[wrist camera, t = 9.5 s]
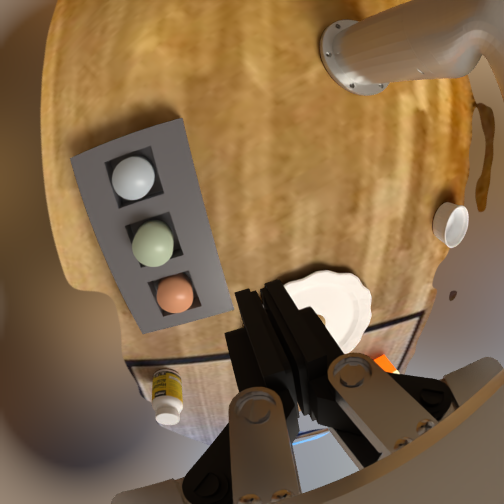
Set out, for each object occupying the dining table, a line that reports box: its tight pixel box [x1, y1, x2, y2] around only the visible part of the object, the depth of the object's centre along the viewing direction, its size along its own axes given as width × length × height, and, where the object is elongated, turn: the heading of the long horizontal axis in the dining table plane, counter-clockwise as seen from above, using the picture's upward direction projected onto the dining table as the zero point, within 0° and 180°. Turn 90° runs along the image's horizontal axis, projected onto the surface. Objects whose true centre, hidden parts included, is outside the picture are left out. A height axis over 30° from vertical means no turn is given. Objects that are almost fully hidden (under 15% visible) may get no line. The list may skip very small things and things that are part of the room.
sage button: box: [132, 220, 174, 267], centre depth 31 cm, size 5×5×3 cm
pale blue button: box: [112, 156, 156, 200], centre depth 29 cm, size 5×5×3 cm
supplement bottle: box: [152, 369, 183, 425], centre depth 42 cm, size 5×5×10 cm
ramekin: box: [433, 202, 468, 248], centre depth 45 cm, size 9×9×4 cm
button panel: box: [70, 118, 234, 334], centre depth 33 cm, size 14×26×4 cm, turn 12°
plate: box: [262, 270, 372, 354], centre depth 48 cm, size 25×25×2 cm
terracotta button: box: [157, 272, 193, 313], centre depth 36 cm, size 5×5×3 cm
